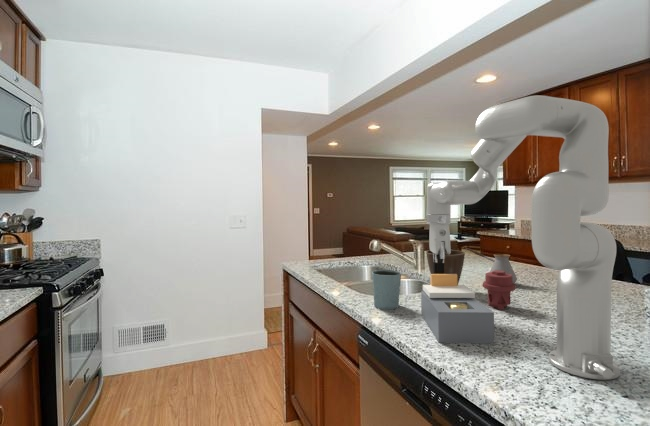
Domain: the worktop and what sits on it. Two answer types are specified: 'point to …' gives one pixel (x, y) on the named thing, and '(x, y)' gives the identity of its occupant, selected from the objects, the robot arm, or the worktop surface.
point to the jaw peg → (458, 306)
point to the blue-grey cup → (386, 289)
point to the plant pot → (449, 262)
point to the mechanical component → (499, 288)
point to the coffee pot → (499, 263)
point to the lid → (447, 287)
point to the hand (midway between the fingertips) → (438, 274)
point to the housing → (458, 320)
